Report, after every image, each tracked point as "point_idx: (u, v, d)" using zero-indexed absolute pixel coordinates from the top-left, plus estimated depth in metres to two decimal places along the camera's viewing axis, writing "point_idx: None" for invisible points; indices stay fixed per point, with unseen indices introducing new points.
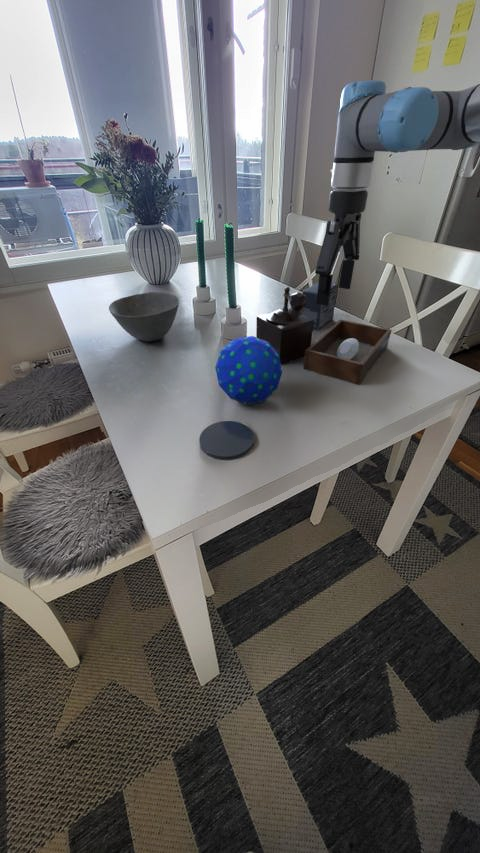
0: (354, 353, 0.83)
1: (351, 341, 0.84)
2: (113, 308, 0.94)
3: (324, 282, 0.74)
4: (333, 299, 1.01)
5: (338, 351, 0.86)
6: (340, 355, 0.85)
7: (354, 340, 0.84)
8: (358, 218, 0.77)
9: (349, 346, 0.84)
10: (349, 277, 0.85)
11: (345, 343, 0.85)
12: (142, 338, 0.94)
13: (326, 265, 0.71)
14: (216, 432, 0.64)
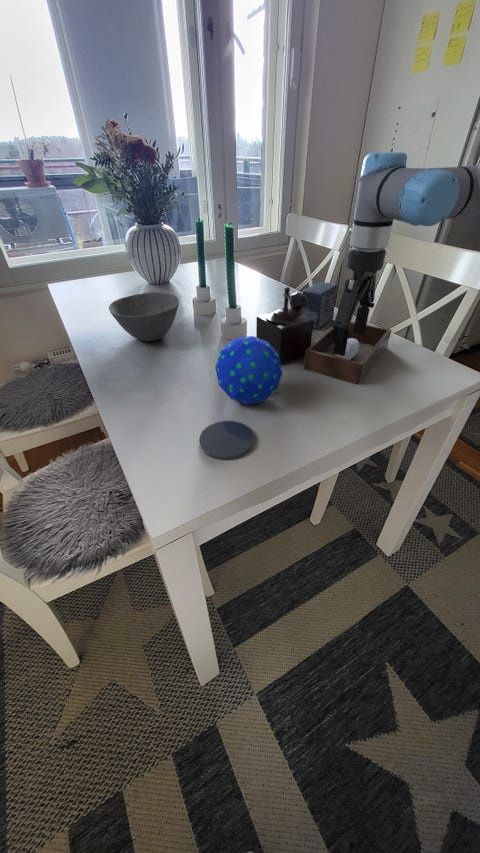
0: (354, 353, 0.83)
1: (351, 341, 0.84)
2: (113, 308, 0.94)
3: (341, 335, 0.76)
4: (333, 299, 1.01)
5: None
6: (340, 355, 0.85)
7: (354, 340, 0.84)
8: (375, 271, 0.78)
9: (349, 346, 0.84)
10: (364, 323, 0.87)
11: None
12: (142, 338, 0.94)
13: (344, 321, 0.72)
14: (216, 432, 0.64)
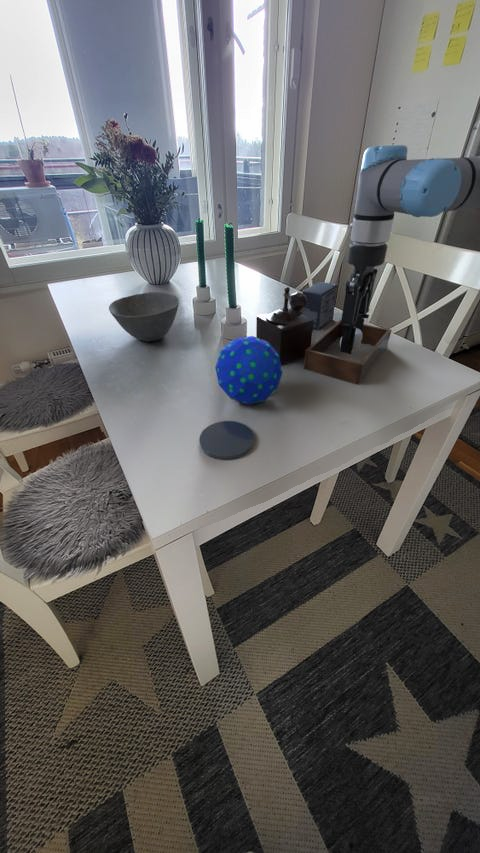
0: (357, 343, 0.81)
1: None
2: (113, 308, 0.94)
3: (348, 334, 0.79)
4: (333, 299, 1.01)
5: None
6: None
7: (357, 330, 0.82)
8: (374, 273, 0.78)
9: None
10: None
11: None
12: (142, 338, 0.94)
13: (350, 322, 0.75)
14: (216, 432, 0.64)
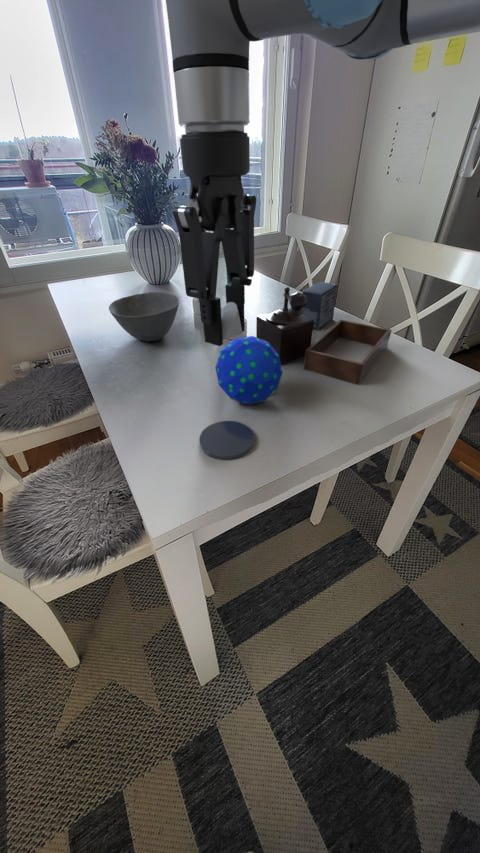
0: (229, 327, 0.48)
1: (226, 307, 0.49)
2: (113, 308, 0.94)
3: (206, 310, 0.45)
4: (333, 299, 1.01)
5: None
6: None
7: (231, 305, 0.49)
8: (250, 202, 0.44)
9: (222, 314, 0.49)
10: (239, 313, 0.51)
11: None
12: (142, 338, 0.94)
13: (197, 286, 0.42)
14: (216, 432, 0.64)
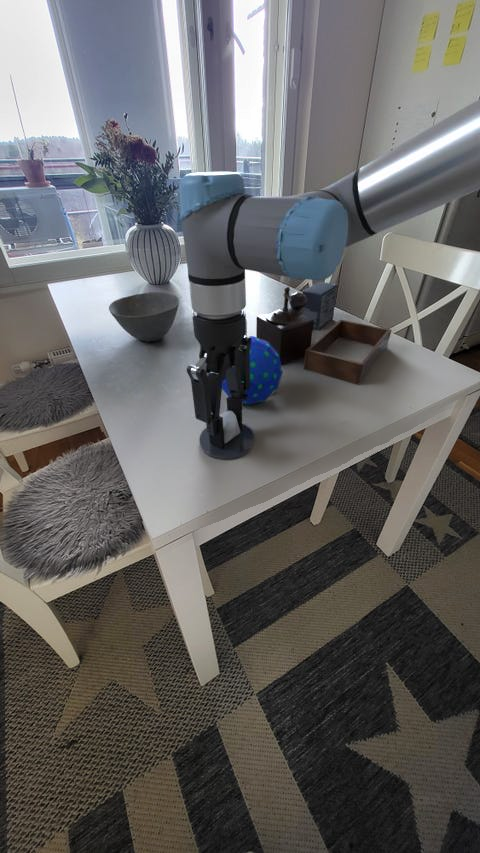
0: (230, 435, 0.59)
1: (227, 417, 0.60)
2: (113, 308, 0.94)
3: (211, 427, 0.57)
4: (333, 299, 1.01)
5: None
6: None
7: (231, 415, 0.60)
8: (246, 342, 0.56)
9: (224, 424, 0.60)
10: (238, 419, 0.62)
11: None
12: (142, 338, 0.94)
13: (205, 416, 0.53)
14: None
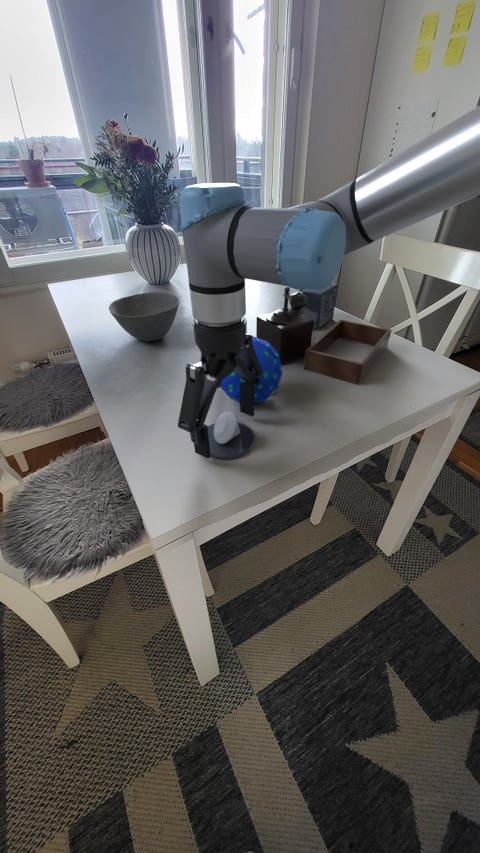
0: (230, 435, 0.59)
1: (227, 417, 0.60)
2: (113, 308, 0.94)
3: (195, 436, 0.53)
4: (333, 299, 1.01)
5: (214, 428, 0.62)
6: (215, 435, 0.62)
7: (232, 415, 0.60)
8: (247, 341, 0.56)
9: (224, 424, 0.60)
10: (250, 403, 0.64)
11: (220, 419, 0.61)
12: (142, 338, 0.94)
13: (189, 422, 0.50)
14: None
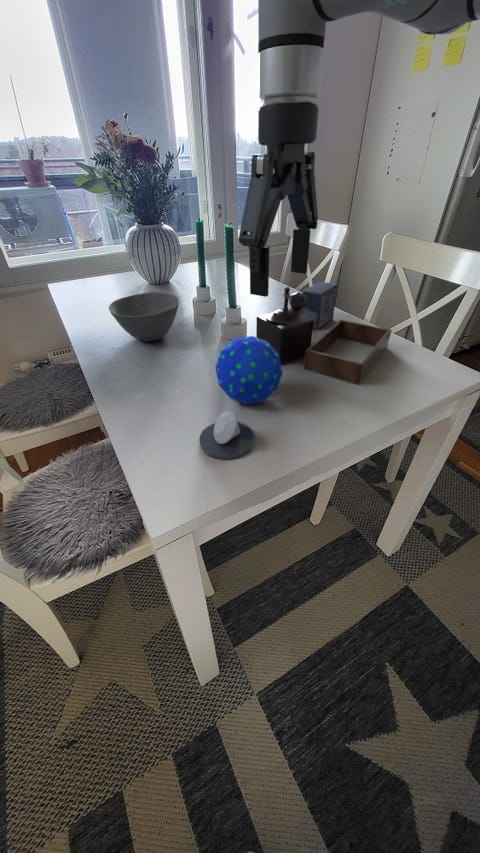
0: (230, 435, 0.59)
1: (227, 417, 0.60)
2: (113, 308, 0.94)
3: (256, 259, 0.47)
4: (333, 299, 1.01)
5: (214, 428, 0.62)
6: (215, 435, 0.62)
7: (232, 415, 0.60)
8: (310, 160, 0.49)
9: (224, 424, 0.60)
10: (304, 255, 0.58)
11: (220, 419, 0.61)
12: (142, 338, 0.94)
13: (254, 229, 0.44)
14: None
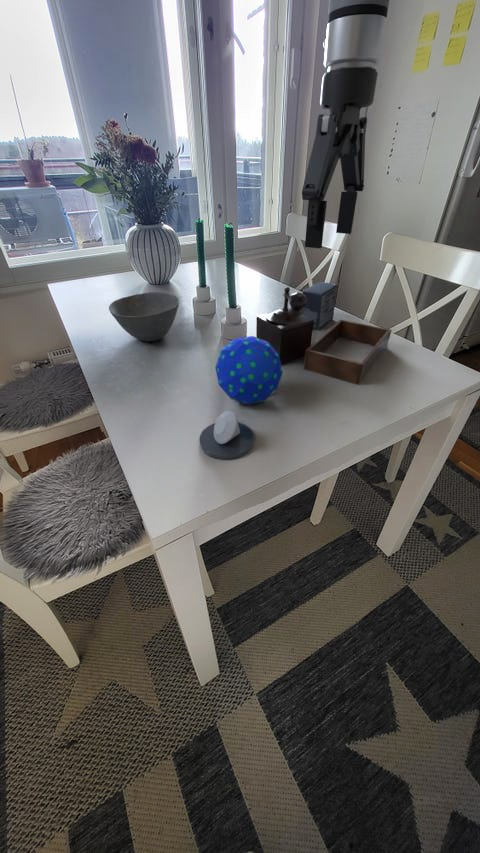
0: (230, 435, 0.59)
1: (227, 417, 0.60)
2: (113, 308, 0.94)
3: (315, 211, 0.53)
4: (333, 299, 1.01)
5: (214, 428, 0.62)
6: (215, 435, 0.62)
7: (232, 415, 0.60)
8: (363, 125, 0.55)
9: (224, 424, 0.60)
10: (350, 216, 0.63)
11: (220, 419, 0.61)
12: (142, 338, 0.94)
13: (317, 182, 0.49)
14: None
